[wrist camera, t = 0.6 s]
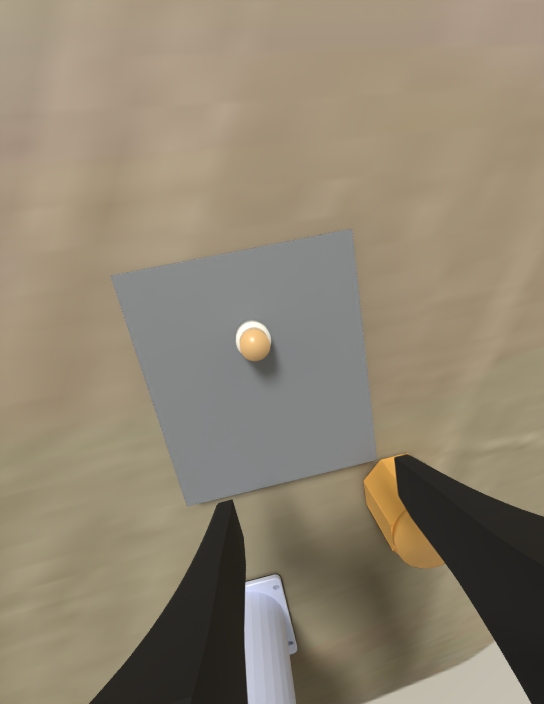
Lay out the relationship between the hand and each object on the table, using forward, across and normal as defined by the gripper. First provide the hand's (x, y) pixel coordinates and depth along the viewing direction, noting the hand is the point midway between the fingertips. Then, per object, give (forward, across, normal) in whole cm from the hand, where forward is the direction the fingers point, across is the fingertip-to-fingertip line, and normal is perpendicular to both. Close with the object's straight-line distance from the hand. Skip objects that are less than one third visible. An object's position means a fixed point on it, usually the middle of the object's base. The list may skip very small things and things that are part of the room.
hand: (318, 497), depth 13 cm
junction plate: (+9, +1, -3) cm, 10 cm away
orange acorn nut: (+9, -8, +9) cm, 15 cm away
